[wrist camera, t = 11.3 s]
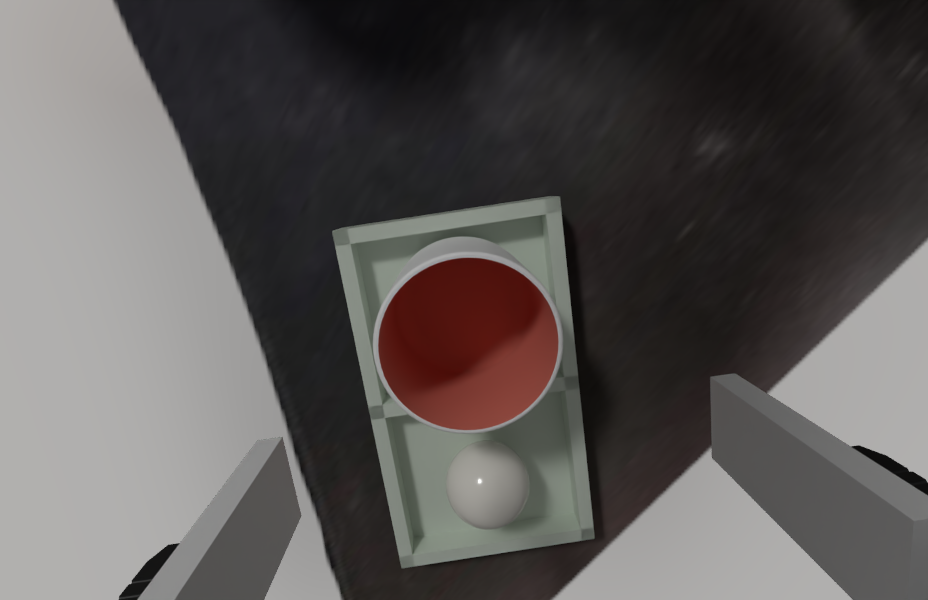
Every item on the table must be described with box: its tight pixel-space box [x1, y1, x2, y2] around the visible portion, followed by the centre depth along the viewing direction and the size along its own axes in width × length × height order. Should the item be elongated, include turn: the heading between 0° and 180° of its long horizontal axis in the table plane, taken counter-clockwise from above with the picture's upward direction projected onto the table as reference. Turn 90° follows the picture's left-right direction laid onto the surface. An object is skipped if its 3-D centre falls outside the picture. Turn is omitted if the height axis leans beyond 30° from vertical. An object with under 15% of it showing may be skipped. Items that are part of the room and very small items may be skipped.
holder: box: [332, 196, 595, 568], centre depth 36 cm, size 26×15×3 cm, turn 8°
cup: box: [373, 237, 563, 434], centre depth 30 cm, size 10×10×10 cm
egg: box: [446, 440, 530, 530], centre depth 35 cm, size 6×6×6 cm
